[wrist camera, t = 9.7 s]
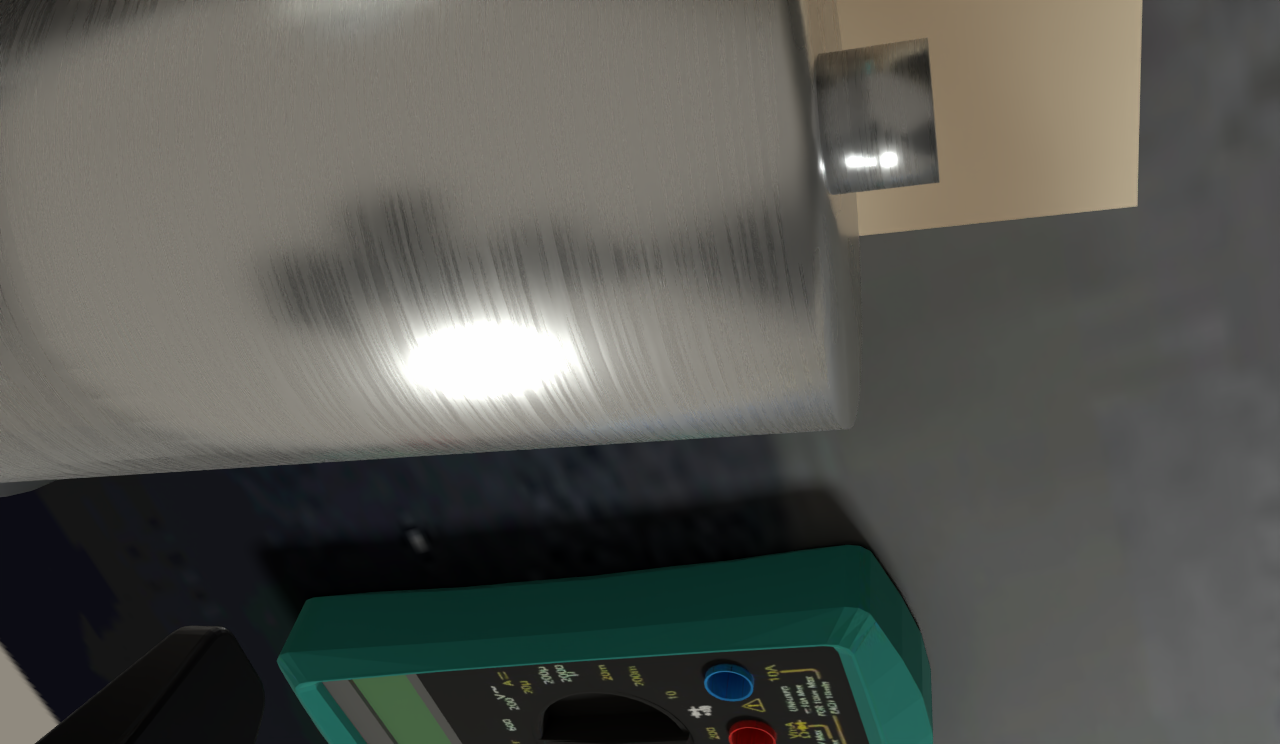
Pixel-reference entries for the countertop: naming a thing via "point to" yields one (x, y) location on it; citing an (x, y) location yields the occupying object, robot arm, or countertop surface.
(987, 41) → the mount board
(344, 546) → the countertop surface
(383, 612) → the digital multimeter
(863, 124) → the cylinder
